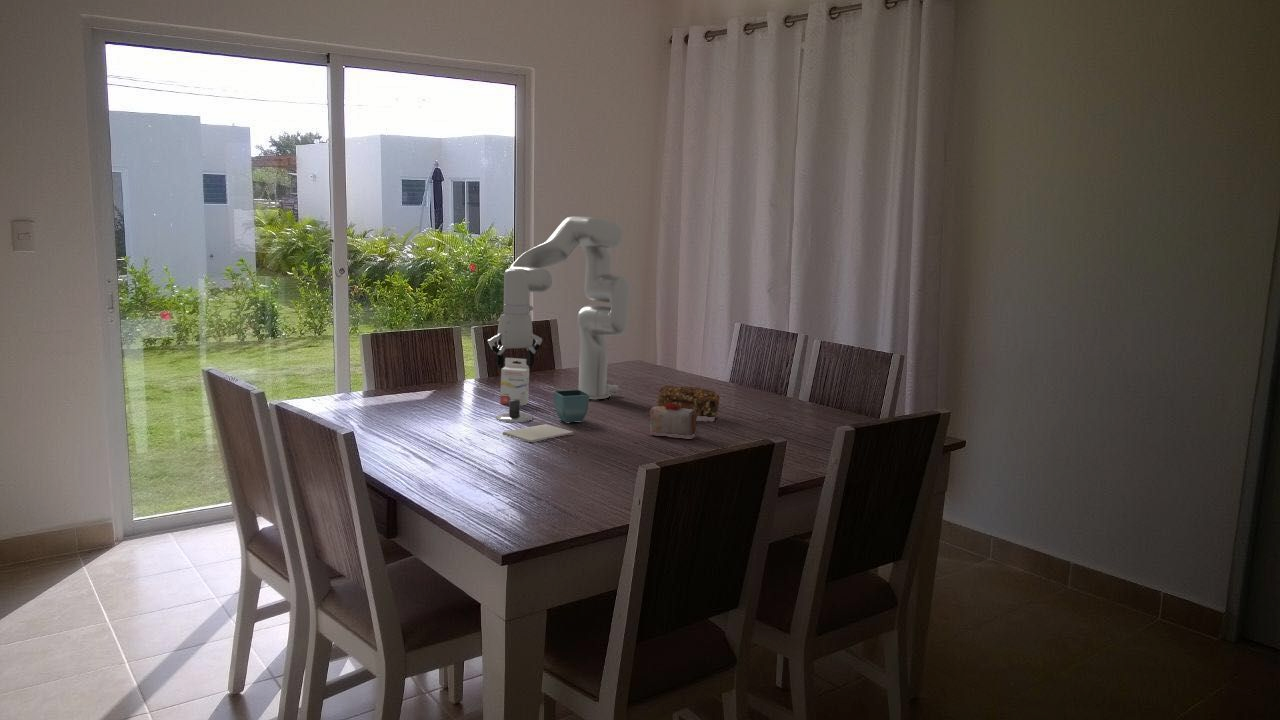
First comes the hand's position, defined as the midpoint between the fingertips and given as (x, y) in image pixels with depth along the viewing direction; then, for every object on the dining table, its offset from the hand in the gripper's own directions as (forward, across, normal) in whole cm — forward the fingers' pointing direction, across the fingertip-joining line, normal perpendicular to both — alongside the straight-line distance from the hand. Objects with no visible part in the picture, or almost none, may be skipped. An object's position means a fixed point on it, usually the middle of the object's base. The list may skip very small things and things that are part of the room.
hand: (514, 366), depth 280 cm
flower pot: (+16, -14, +10) cm, 24 cm away
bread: (+16, -52, +19) cm, 57 cm away
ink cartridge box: (+16, -9, -20) cm, 27 cm away
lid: (+16, 0, 0) cm, 16 cm away
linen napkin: (+16, +2, +21) cm, 26 cm away
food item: (+16, -33, +37) cm, 52 cm away
